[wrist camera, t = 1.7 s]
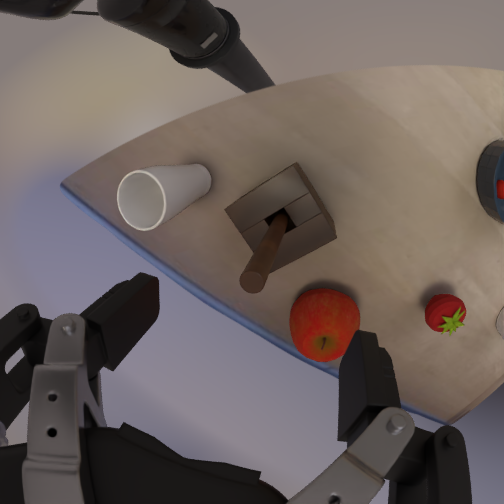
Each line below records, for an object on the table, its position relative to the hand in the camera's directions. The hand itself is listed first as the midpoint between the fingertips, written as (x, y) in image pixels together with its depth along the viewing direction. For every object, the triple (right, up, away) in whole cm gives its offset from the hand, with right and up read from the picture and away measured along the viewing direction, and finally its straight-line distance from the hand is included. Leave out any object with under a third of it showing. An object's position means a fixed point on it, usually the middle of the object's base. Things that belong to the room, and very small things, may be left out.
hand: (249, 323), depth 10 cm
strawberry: (+31, -5, +28) cm, 42 cm away
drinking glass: (-8, +14, +30) cm, 34 cm away
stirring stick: (+5, +9, +29) cm, 30 cm away
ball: (+38, +12, +17) cm, 43 cm away
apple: (+12, -6, +33) cm, 36 cm away
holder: (+5, +9, +29) cm, 30 cm away
